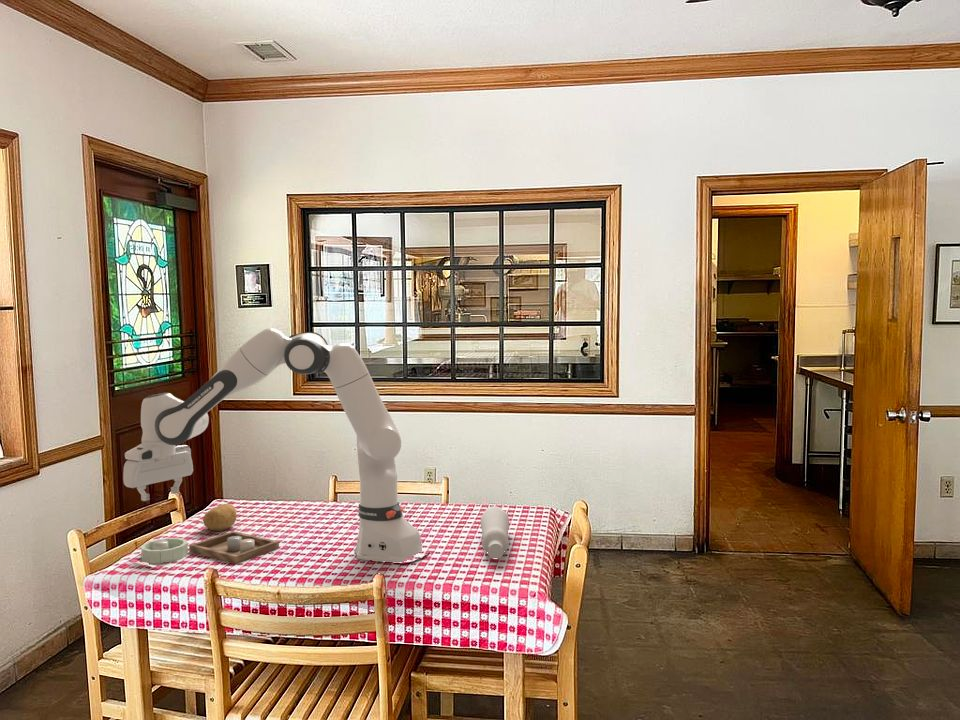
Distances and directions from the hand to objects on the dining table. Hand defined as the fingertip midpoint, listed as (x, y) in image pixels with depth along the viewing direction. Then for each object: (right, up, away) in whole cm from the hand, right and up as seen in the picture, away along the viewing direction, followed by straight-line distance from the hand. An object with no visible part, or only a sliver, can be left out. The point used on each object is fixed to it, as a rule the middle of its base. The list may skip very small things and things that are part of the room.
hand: (160, 496), depth 204 cm
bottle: (+96, -18, +10) cm, 99 cm away
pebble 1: (0, -17, +1) cm, 17 cm away
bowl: (+1, -18, 0) cm, 18 cm away
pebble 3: (+24, -17, +3) cm, 30 cm away
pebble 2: (+19, -17, +5) cm, 26 cm away
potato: (+7, -16, +28) cm, 33 cm away
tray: (+19, -17, +5) cm, 27 cm away
